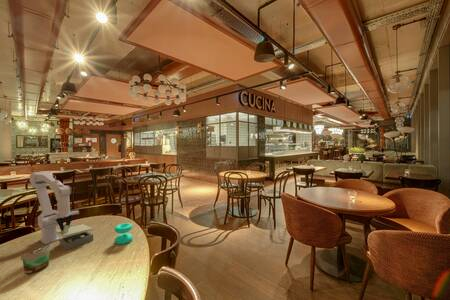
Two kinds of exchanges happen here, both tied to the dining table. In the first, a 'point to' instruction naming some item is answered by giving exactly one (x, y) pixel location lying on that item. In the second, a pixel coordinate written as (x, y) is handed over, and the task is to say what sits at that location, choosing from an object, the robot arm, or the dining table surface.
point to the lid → (72, 230)
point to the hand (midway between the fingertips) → (64, 229)
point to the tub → (75, 240)
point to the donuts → (123, 237)
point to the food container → (36, 260)
